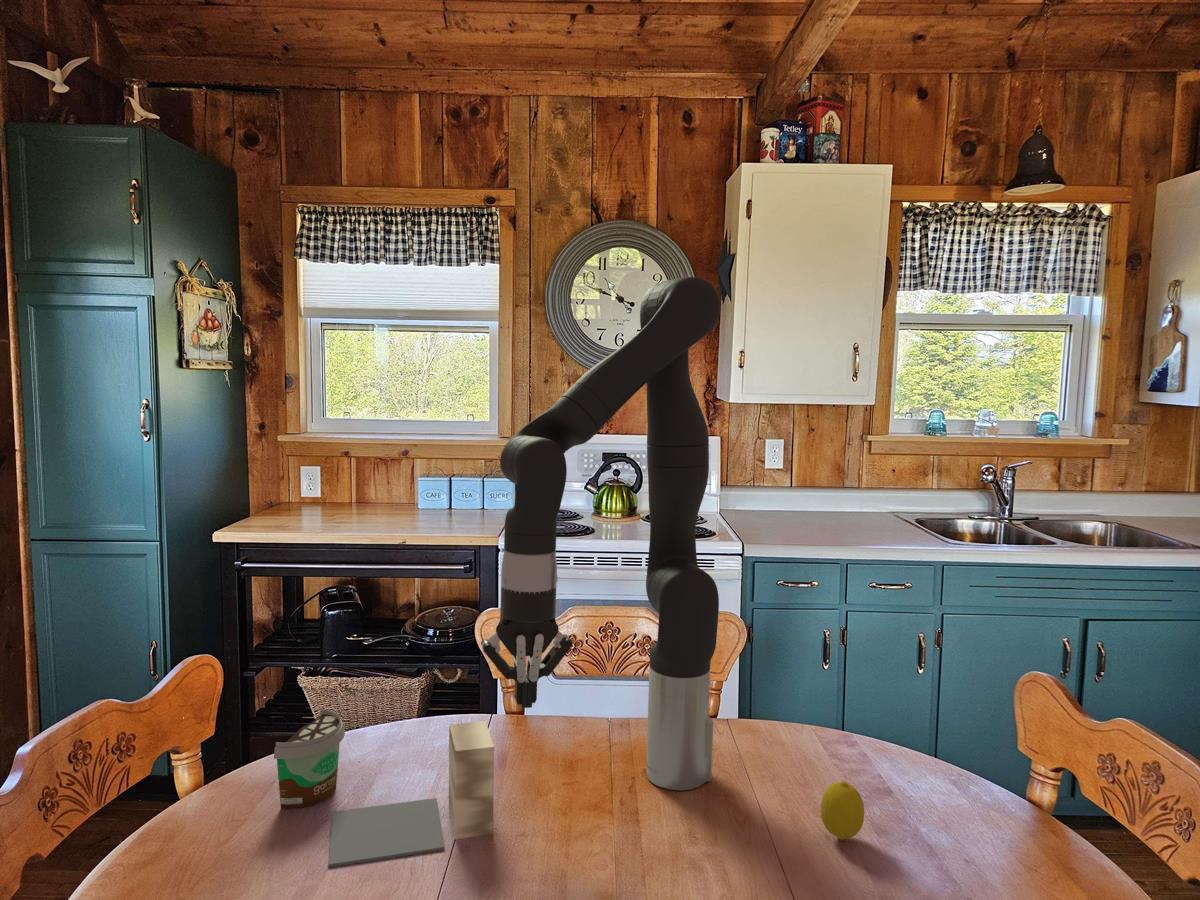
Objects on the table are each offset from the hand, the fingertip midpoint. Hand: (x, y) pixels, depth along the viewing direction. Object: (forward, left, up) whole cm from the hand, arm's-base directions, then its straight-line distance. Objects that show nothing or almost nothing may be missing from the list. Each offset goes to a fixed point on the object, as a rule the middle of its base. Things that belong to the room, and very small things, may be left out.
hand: (525, 705), depth 106 cm
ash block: (+7, 0, -15) cm, 17 cm away
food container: (+27, -12, -16) cm, 34 cm away
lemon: (-40, +17, -16) cm, 46 cm away
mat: (+18, 0, -15) cm, 24 cm away
